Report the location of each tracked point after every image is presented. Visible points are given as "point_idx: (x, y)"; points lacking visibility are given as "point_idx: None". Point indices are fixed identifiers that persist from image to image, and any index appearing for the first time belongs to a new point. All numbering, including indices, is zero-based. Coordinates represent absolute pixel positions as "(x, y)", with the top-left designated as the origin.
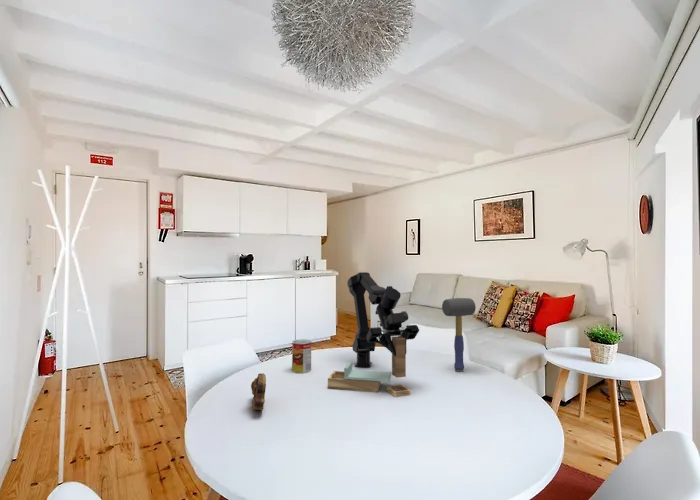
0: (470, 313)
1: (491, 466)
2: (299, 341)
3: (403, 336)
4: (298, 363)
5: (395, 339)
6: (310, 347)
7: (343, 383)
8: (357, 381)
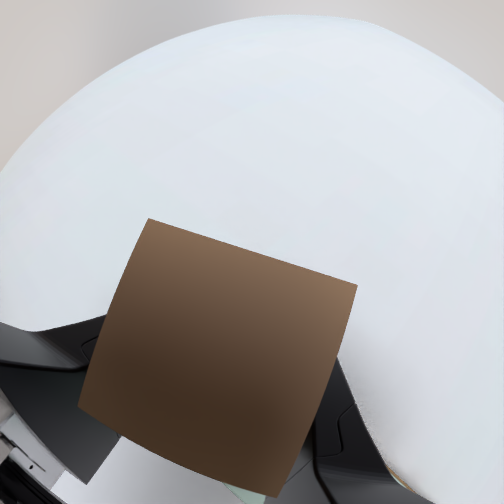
0: None
1: (355, 37)
2: None
3: (51, 361)
4: None
5: (344, 325)
6: None
7: None
8: (393, 472)
